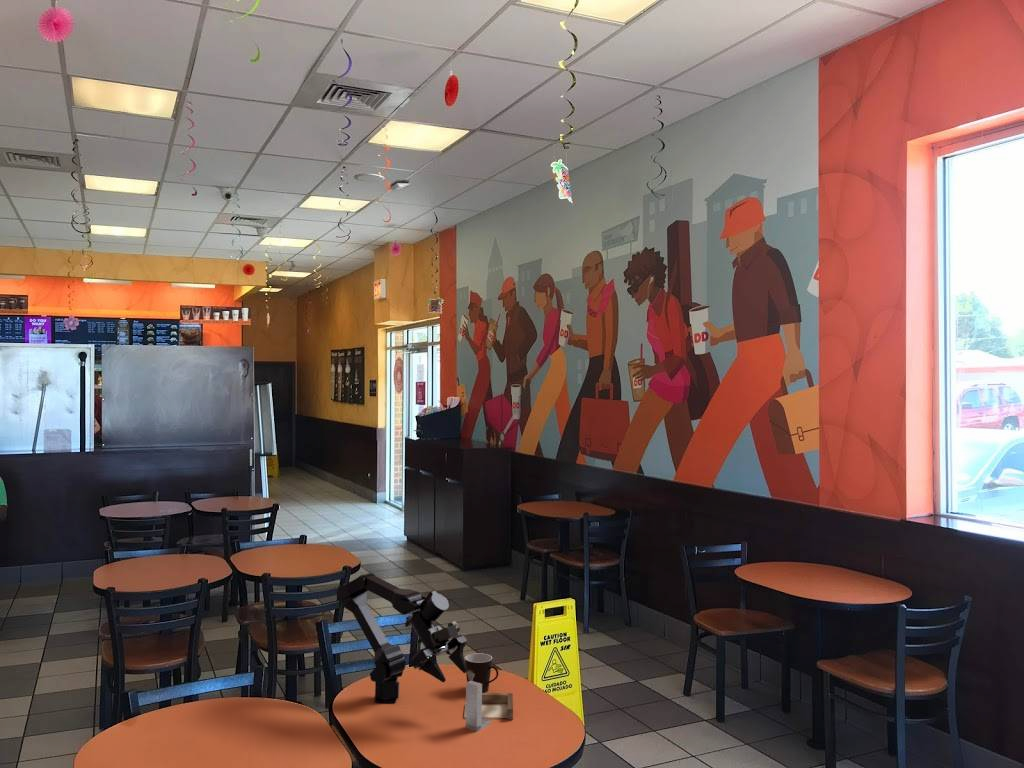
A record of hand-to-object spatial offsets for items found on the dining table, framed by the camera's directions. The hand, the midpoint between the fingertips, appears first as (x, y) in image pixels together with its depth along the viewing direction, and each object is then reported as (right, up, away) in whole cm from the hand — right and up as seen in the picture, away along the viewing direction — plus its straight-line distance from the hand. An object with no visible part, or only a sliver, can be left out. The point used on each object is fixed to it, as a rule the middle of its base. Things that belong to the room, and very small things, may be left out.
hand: (455, 676), depth 225 cm
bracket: (+6, -13, -2) cm, 15 cm away
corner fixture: (+9, -13, +8) cm, 18 cm away
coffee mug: (+6, -13, +23) cm, 27 cm away
